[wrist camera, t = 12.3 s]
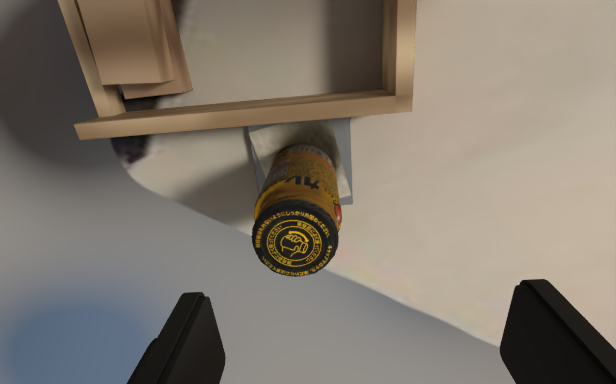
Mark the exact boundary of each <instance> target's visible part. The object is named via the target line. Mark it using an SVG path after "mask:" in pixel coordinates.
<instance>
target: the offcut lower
mask: <svg viewBox="0 0 616 384" xmlns="http://www.w3.org/2000/svg"><path fill="white" fill-rule="evenodd" d="M159 2H160V7H161V12H162V17H163V22H164V27H165V32H166V37H167V42H168V47H169V52H170V57H171V62H172V67H173V72H174V78H175V80H171V81H166V82H162V83H136V84H120V85H121V88H122V91H123V94H124V97H125V99H131V98H140V97H148V96H157V95H166V94H174V93H183V92H187V91H190V90H193V88H192V84H191V80H190V76H189V72H188V68H187V64H186V60H185V56H184V52H183V48H182V44H181V40H180V35H179V31H178V27H177V23H176V19H175V15H174V11H173V7H172V3H171V0H159Z"/></svg>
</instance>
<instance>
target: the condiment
mask: <svg viewBox="0 0 616 384" xmlns="http://www.w3.org/2000/svg"><path fill="white" fill-rule="evenodd" d="M249 136H250V138H251V141H252V144H253V146H254V149H255V152H256V154H257V157H258V159H259V162H260V165H261V167H262V170H263V172H264V174H265V177H266V180H265V182H264V184H263V187H262V190H261V192H260V194H259V197H258V199H257V201H256V204H255V211H254V220H255V224H254V226H253V229H252V230H253V232H252V243H253V247H254V249H255V252H256V254H257V255H258V258H259V259H260V261H261V262H262V263H263V264H265V265H266V266H267V267H269V268H270V269H271V270H272V271H274V272H276V273H279V274H282V275H286V276H295V277H296V276H303V275H308V274H314V273H316V272H318V271H319V270H321V269H322V268H324V267H325V266H326V265H327V264H328V263H329V262H330V260H331V259H332V258H333V257H334V255H335V252H336V250H337V247H338V237H339V236H338V232H339V229H340V226H341V222H342V215H341V205H340V200H339V198H343V197H347V196H350V195H351V193H350V189H349V186H348V182H347V178H346V175H345V171H344V168H343V164H342V160H341V157H340V153H339V149H338V146H337V142H336V139H335V135H334V131H333V128H332V124H331V120H330V119H320V120H308V121H296V122H285V123H279V124H276V125H273V126H270V127H266V128H263V129H260V130H257V131H254V132H250V133H249ZM279 146H280V147H279Z"/></svg>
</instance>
